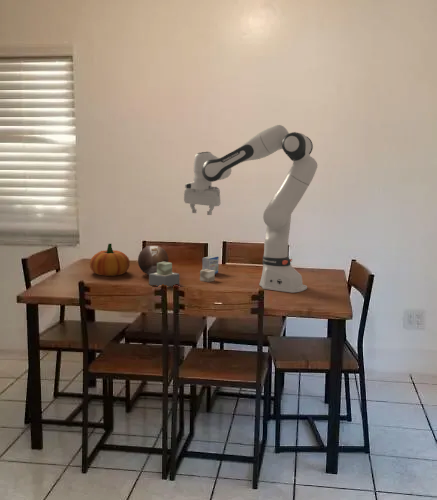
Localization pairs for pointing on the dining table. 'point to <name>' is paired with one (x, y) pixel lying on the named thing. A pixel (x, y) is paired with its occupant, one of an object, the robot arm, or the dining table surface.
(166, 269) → the sage block
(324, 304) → the dining table surface
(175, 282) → the base block
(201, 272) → the off-white block
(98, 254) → the pumpkin
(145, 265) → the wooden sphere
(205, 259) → the medicine box
